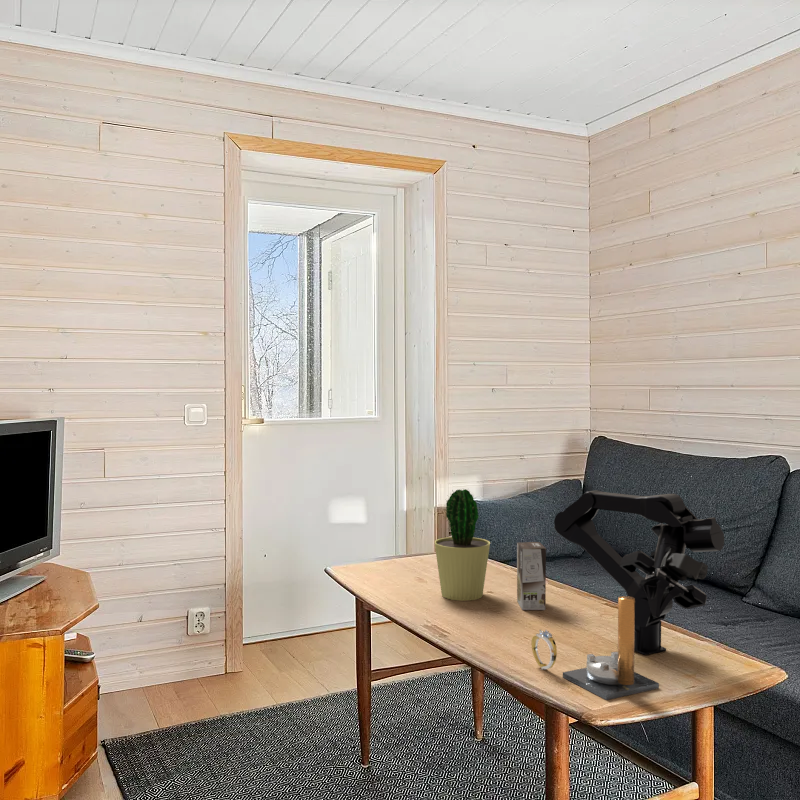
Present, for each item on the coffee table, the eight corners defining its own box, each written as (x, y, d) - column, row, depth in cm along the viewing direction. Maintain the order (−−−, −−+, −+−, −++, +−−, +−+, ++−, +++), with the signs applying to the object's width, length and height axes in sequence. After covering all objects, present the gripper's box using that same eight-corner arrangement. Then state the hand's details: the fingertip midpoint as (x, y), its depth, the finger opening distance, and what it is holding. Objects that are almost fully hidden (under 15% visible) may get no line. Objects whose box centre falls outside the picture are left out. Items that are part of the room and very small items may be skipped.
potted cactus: (489, 588, 232) (490, 483, 232) (490, 603, 217) (490, 491, 216) (435, 587, 234) (435, 483, 233) (432, 602, 219) (432, 490, 218)
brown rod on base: (578, 670, 164) (579, 586, 163) (618, 666, 166) (619, 583, 166) (608, 692, 152) (608, 602, 152) (651, 687, 154) (651, 598, 154)
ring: (559, 673, 165) (559, 634, 165) (546, 675, 164) (546, 636, 164) (541, 662, 172) (541, 625, 172) (528, 664, 171) (528, 626, 171)
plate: (613, 667, 169) (613, 661, 169) (658, 688, 158) (658, 682, 158) (562, 677, 163) (562, 671, 163) (606, 700, 152) (606, 694, 152)
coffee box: (546, 610, 211) (546, 548, 210) (521, 610, 211) (521, 548, 210) (540, 600, 220) (540, 541, 219) (516, 600, 220) (516, 541, 219)
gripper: (663, 519, 165) (647, 586, 157) (731, 565, 169) (720, 633, 160) (626, 532, 174) (610, 597, 166) (692, 575, 178) (679, 641, 170)
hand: (655, 617), depth 165 cm, fingers closed
